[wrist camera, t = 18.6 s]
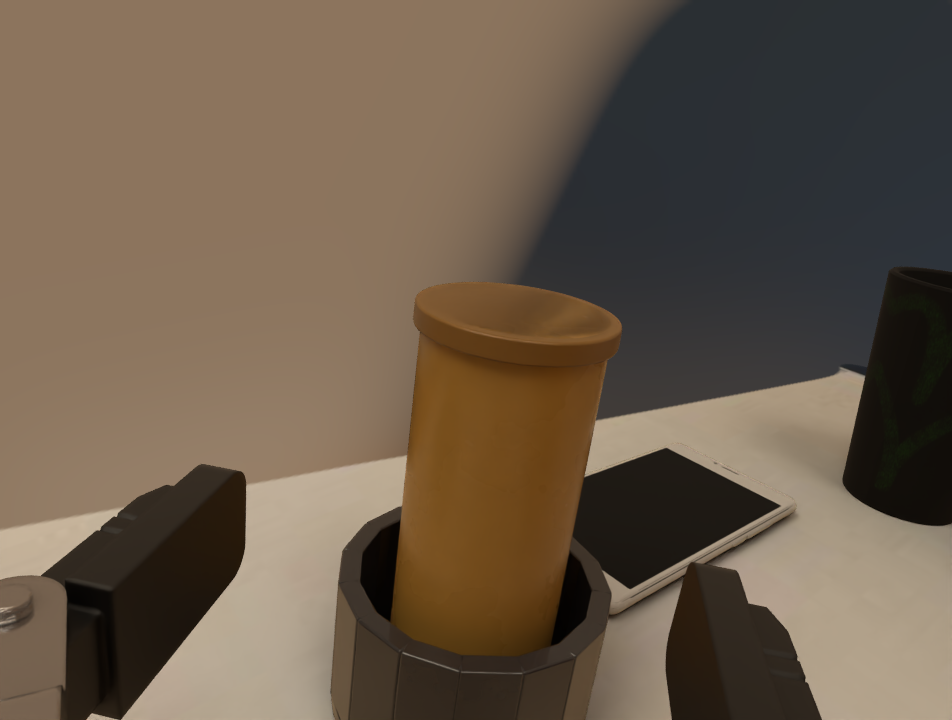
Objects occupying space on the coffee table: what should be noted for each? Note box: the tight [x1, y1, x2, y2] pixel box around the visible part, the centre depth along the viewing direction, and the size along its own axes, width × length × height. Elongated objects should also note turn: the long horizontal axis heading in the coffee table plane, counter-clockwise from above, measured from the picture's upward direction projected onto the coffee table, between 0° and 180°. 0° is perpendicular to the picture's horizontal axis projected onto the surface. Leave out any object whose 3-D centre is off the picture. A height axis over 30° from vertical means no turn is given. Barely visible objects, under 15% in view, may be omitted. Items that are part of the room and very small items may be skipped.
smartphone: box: [573, 443, 797, 614], centre depth 33 cm, size 8×1×15 cm
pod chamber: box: [330, 507, 612, 720], centre depth 21 cm, size 8×8×4 cm
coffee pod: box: [390, 282, 622, 656], centre depth 19 cm, size 5×5×12 cm
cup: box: [843, 267, 952, 525], centre depth 36 cm, size 8×8×12 cm
